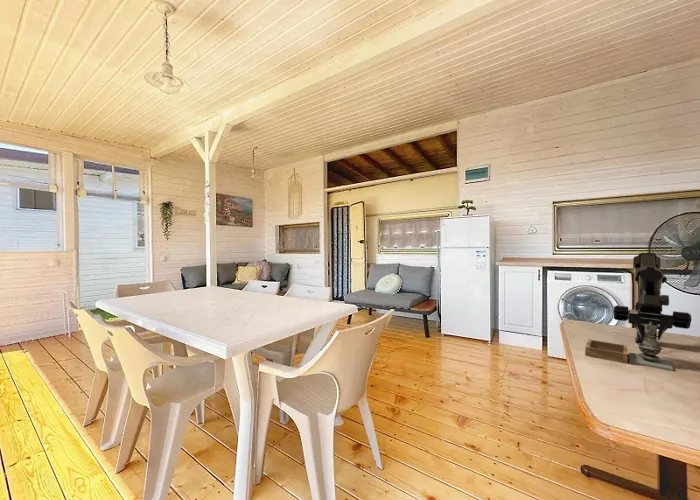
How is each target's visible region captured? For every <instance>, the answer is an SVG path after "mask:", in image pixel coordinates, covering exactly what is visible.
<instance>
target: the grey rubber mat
mask: <svg viewBox="0 0 700 500" xmlns="http://www.w3.org/2000/svg"><path fill="white" fill-rule="evenodd" d="M638 354H639V353H634V352H629V353H628V357H629V358H628V360H629V362H630V364H635V365H640V366H646V367H650V368H656V369H661V370H666V371H670V372H674V367H673V365H672V362H671V359H669V358H665V357H659V358H660V360H650V359H646V358H642V357H640V356H639V355H638Z"/></svg>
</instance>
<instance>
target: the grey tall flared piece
mask: <svg viewBox="0 0 700 500" xmlns="http://www.w3.org/2000/svg"><path fill="white" fill-rule="evenodd" d="M649 323H650V324H646V325H645V330H644V333H643V335H644V340H643V343H636V344H637V346H638V349H639V351H640V353H637V354H638V355H639V356H640V357H642V358H646V359H650V360H660V358H661V357H659V356H657V355H659V354H660V353H661V352H662V350H663V348H662V347H661V346H660V345H659V346H657V344H656V337H657V338H658V334H657V335H656V326H655V325H653V324H652V322H649Z"/></svg>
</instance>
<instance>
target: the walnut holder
mask: <svg viewBox="0 0 700 500" xmlns="http://www.w3.org/2000/svg"><path fill="white" fill-rule="evenodd" d="M584 347H585V348H584V349H585V351H584V352H585V353H584V354H585V356H587V357H591V358H596V359H600V360H601V359H602V360H606V361H611V360H612V362H616V361H617V363H621V362H622V363H623V364H628V348H629V347H628V345H625V344H619V343H613V342H606V341H602V340H594V339H587V342H586V344H585V346H584Z"/></svg>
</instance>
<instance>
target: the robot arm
mask: <svg viewBox="0 0 700 500" xmlns="http://www.w3.org/2000/svg"><path fill="white" fill-rule="evenodd" d="M632 260H633V261H632V264H633V265H632V268H633V269H634V271H635V272H634V282H635V283H636V284H637V285H638V290H637V293H638V297H637V298H638V299H637V300H638V301H637V302H636V303H635V306H634V309H629V306H624V305H614V306H613V320H616V321H622V322H623V321H624V322H626V321H628V323H629V324H630V325H632V327H634V328H635V329H636V337H634V341H635V343H636V344H639V343H643V340H644V335H643V333H644V330H645V325H646V324H650V323H649V322H652V324H653V325H655V326H656V335H657V336H658V337H656V344H657V346H659V347H660V344H659V341H660V340H661V338H663V336H664V333H666V331H667V330H668V329H673V327H675V328H677V329H678V328H679V329H686V330H687V329H690V327H691V324H692V323H691V322H692V314H691V313H689V312H684V311H672V315H670V314H666V313H665V314H664V313H662V312H663V306H664V307H665V306H666V307H668V306H669V305H670V295H668V294H662V293H661V289H662V284H665V282H667V281H668V278H667V277H666V275H665V274H664V273H662V271H661V267H662V266H661V265H662V263H661V262H662V261H661V257H659V256H658V255H657V254H656V253H654V252H640V253H638V255H635V256H634V257H632Z"/></svg>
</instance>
